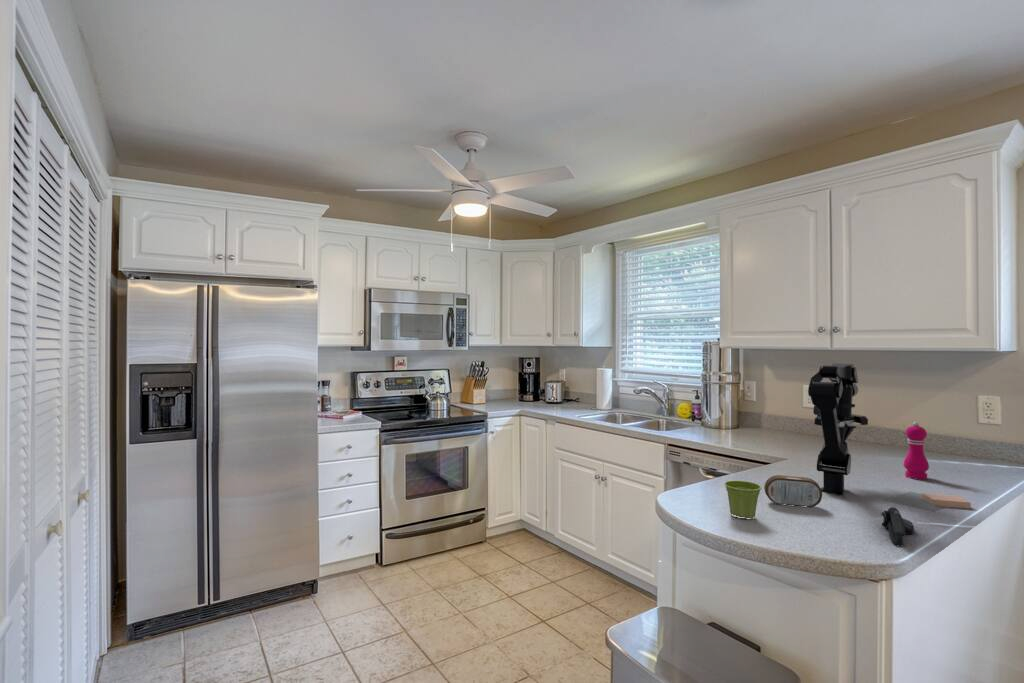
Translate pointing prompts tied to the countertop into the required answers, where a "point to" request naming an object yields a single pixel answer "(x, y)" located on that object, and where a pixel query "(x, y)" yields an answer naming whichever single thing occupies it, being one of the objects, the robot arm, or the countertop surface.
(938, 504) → the tile
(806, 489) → the tin
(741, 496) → the plant pot
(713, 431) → the countertop surface
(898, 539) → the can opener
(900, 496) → the mat
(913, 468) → the pepper mill
